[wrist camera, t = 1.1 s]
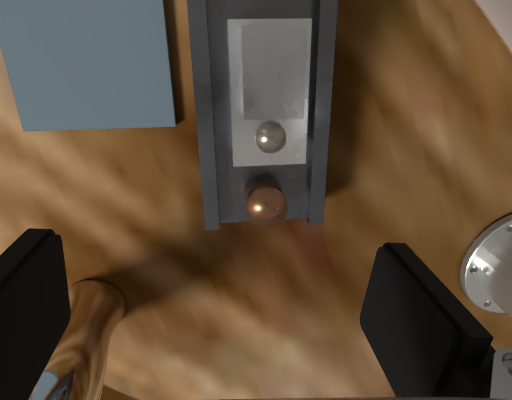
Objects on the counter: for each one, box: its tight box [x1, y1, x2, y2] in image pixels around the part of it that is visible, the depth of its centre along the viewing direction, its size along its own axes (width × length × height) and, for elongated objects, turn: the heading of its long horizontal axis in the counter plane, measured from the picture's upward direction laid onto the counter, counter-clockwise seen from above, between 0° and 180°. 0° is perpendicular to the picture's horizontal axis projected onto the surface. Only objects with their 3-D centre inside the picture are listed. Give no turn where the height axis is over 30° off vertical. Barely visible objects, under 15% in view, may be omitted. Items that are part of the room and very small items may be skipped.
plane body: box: [187, 0, 338, 230], centre depth 27 cm, size 22×10×7 cm, turn 1°
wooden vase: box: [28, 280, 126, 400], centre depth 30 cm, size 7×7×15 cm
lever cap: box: [226, 18, 312, 167], centre depth 24 cm, size 9×5×6 cm, turn 1°
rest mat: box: [0, 0, 177, 131], centre depth 27 cm, size 12×12×1 cm
